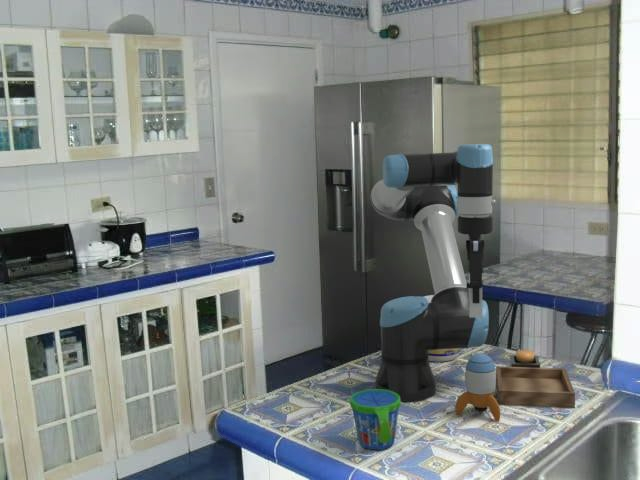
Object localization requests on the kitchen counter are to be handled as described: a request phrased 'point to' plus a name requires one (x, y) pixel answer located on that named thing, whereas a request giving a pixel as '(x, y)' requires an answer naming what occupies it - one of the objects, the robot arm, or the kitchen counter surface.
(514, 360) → the button housing
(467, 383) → the toy rocket
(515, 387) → the open wooden tray
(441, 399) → the kitchen counter surface
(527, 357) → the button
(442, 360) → the supplement tub
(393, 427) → the snack cup
